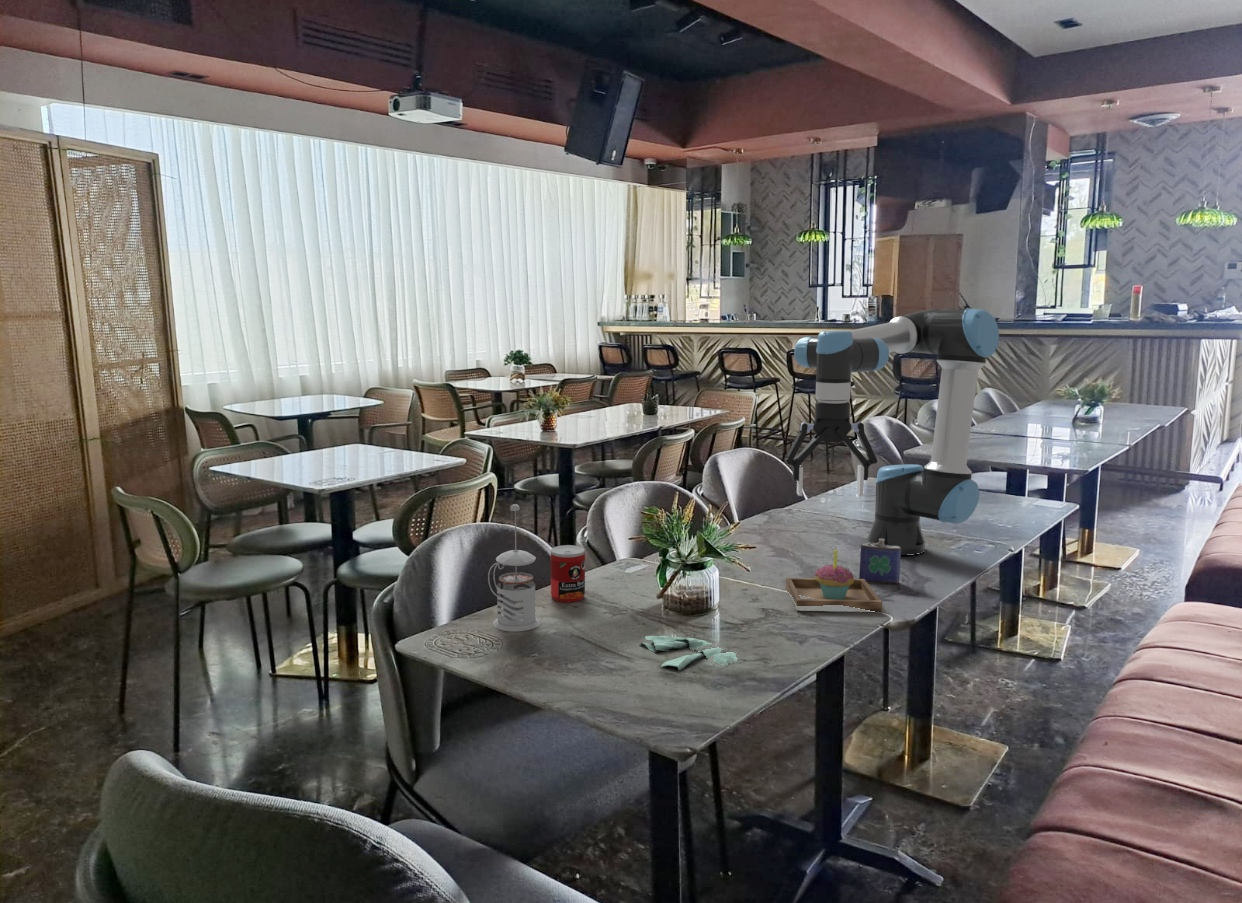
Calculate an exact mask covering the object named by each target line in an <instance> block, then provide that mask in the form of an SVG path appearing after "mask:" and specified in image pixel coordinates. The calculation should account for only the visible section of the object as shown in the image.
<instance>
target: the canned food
mask: <svg viewBox="0 0 1242 903" xmlns="http://www.w3.org/2000/svg"><path fill="white" fill-rule="evenodd" d="M585 550H586V549H585V548H584V547H582V546H578V545H574V544H573V545H572V544H566V545H557V546H554V547H552V548H551V549H550V594H551V598H552V600H554V601H557V602H561V603H575V602H579V601H581V600H583V599H584V597H585V594H586V551H585Z"/></svg>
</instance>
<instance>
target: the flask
mask: <svg viewBox="0 0 1242 903" xmlns="http://www.w3.org/2000/svg"><path fill="white" fill-rule="evenodd" d="M884 540H885V539H882V538H881V539H879V542H878V543H873V544H872V543H870V542H868V543H867V542H865V543H861V544H860V556H859V558H860V559H859V572H858V573H859V574H858V576H859V577H858V579H865V581H866V582H867V583H868V584H881V585H892V584H893V585H899V584H898V583H900V575H901V574H900V572H901V557H902V556H901V548H900V547H899V546H885V545H884Z"/></svg>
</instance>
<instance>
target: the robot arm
mask: <svg viewBox="0 0 1242 903" xmlns="http://www.w3.org/2000/svg"><path fill="white" fill-rule="evenodd" d="M999 340H1000V332H999V328H998V323H997V321H996V319H995V317H994V316H993V314H992V313H991V312H989V311H988V310H985V309H978V308H972V307H971V308H931V309H925V310H920V311H916V312H913V313H908V314H903V315H900V316H896V317H894V318H892V319H890V321H889V322H886V323H880V324H876V325H872V326H865V327H861V328H856V329H852V330H822V331H820V332H819V333H818V335H817V336H813V335H811V336H803V337H801V338H799V339H798V340H797V342H796V344H795V347H794V351H793V353H794V354H793V356H794V360H795V362H796V363H797V365H799V367H802V368H807V369H810V370H813V369H816V374H815V375H816V377H815V399H816V401H815V406H814V421H813V423H806V422H805V421H801V422H800V425H799V431H798V433H797V435H796V437H795V439H794V441H793V442H792V444H791V447H790V448H789V450H788V452H787V453H786V456H785V457H784V462H785V463H786V464H787V465H790V466H792V479H793V481H794V482H796V494H797V496H798V497H803V489H804V488H803V487H804V486H803V482H804V478H803V477H804V467H803V466H802V464H803V462H804V461H805V460H806V459H807V458H808V457H809V456H810V455H811V453H813V451H814V450H815V449H816V448H817V447H818V446H819V445H820V444H821V443H825V444H830V443H836V444H839V443H842V442H843V443H844V445H845V446H846V447H847V448H848V449H849V450H850V451H851V453H852V454H853V455H854V456H855V458H856V459H857V461H858V462H860V464H857V472H856V473H857V474H856V477H857V478H856V494H858V496H861V497H862V496H864V481H868V479H869V468H870V466H871V465H873V464H875V465H876V464H877V463H878V459H877V456H876V454H875V452H874V451H873V448H872V445H871V444H870V442H869V439H868V438H867V435H866V433H865V425H864V423H863V422H861V421H856V422H854V423H851V422H850V413H851V404H850V402H849V400H850V399H851V391H852V390H851V387H852V386H851V385H852V384H851V382H852V373H862V372H863V373H865V372H869V373H872V372H875V371H880V370H882V369H883V368H884V367H885V366H887V364H888V361H889V358H890V353H897V354H899V355H900V354H906V353H907V354H908V353H917V354H928V355H929V354H930V355H936V362H937V364H939V366H940V367H941V374H940V381H939V390H938V396H937V397H938V398H937V399H938V400H937V405H936V406H937V408H936V414H935V416H936V417H935V423H934V424H935V425H934V431H933V439H932V440H933V441H932V449H931V456H930V457H931V458H930V461H929V462H928V463H927V464H926V465H924V467H923V465H921V464H913V463H912V464H910V463H909V464H891V465H885V466H881V467H880V468H879V469H878V470H877V475H876V481H875V503H874V506H875V509H874V511H875V512H874V519H873V523H872V525H871V528H870V530H869V533H868V535H867V538H866V543H868V542H870V543H872V544H873V543H878V542H879V539H881V538H882V539H885V540H884V545H885V546H899V547H900V548H901V555H907V554H917V553H921V552H923V551H924V550H926V542H925V539H924V538H925V537H924V534H923V530H922V527H921V522H920V521H921V518H925V519H929V520H930V519H931V520H934V521H939V522H941V523H943V524H944V523H949V524H954V525H958V524H962V523H964V522H965V521H967V520H968V519H969V518H970V517H971V516H972V515H973V514H974V512H975V511H976V509H977V507H978V504H979V500H980V489H979V485H978V483H977V481H974V480H973V479H972V476H973V472H972V470H971V469H970V468H969V467H968V465H967V464H968V456H969V447H970V439H971V431H972V424H973V417H974V416H973V415H974V409H975V408H974V406H975V398H976V390H977V383H978V374H979V371H980V370H981V369H982V368H983V367H984V366H986V362H987V358H989V357H992V355H994V354H995V353H996V350H997V348H998V346H999V342H1000V341H999ZM811 430H813V432H814V435H813V437H812V438H811V440H810V441H809V442H808V443H807V445H806V446H805V447H804V448H803V449H802V450H801V451H800V452H799V450H800V447H801V446H802V444H803V442H804V440H805V438H806V436H807V434H809V433H810V432H811ZM851 430H853V432H854V433H856V434H857V437H858V440H859V441H860V443H861V446H862V448H863V449H864V452H865V454H866V456H867V458H866V457H865V456H864V455H863V453H862V452H861V451H860V450H859V449H858V447H857V446H856V445H855V444H854V443H853V441H852V440H851V439H850V438H849V436H848V434H849V433H850V431H851ZM798 452H799V454H797V453H798ZM796 455H797V456H796ZM920 517H921V518H920Z"/></svg>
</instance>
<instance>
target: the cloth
mask: <svg viewBox="0 0 1242 903" xmlns="http://www.w3.org/2000/svg"><path fill="white" fill-rule="evenodd" d="M644 639H645V640H647V641H651V642H650V643H646V642H641V643H640V644H639V645H638V647H646V649H648V650H649V651H650V652H652V653H659V652H660V653H661V652H669V651H674V650H676V649H677V650H678V649H680V650H683V649H687V648H689V650H691V649H695V648H697V649H698V648H699V647H703V646H707V645H710V644H712V643H713V642H708V641H706V640H704V639H698V638H693V637H681V636H673V637H672V636H669V635H658V636H657V635H646V636H645V637H644ZM721 650H723V649H721V648H719V647H717V648H712V647H711V649H705V650H702V651H698V652H697V653H696V652H695V653H693V654H686V655H681V656H680V657H677V658H674V659H670V660H666V661H665V662H663V663H662V664H661V665H660V667H661V668H664V667H667V666H669V668H668V669H671V670H677V672H681V671H682V670H684V669H685V667H686V666H688V665H691V664H693V663H695V662H697V660H698V661H700V660H702V659H704V658H705V659H706V658H710V657H712V656H714V659H713V660H714V662H716V663H718V664H721V665H728V663H729V662H732V661H737V659H738V658H737V657H736V654H737V652H736V653H734V652H726V653H720V652H721ZM692 652H694V650H693V651H692ZM705 656H706V657H705ZM703 657H704V658H703ZM701 658H702V659H701ZM699 659H700V660H699ZM690 663H691V664H690Z"/></svg>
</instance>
